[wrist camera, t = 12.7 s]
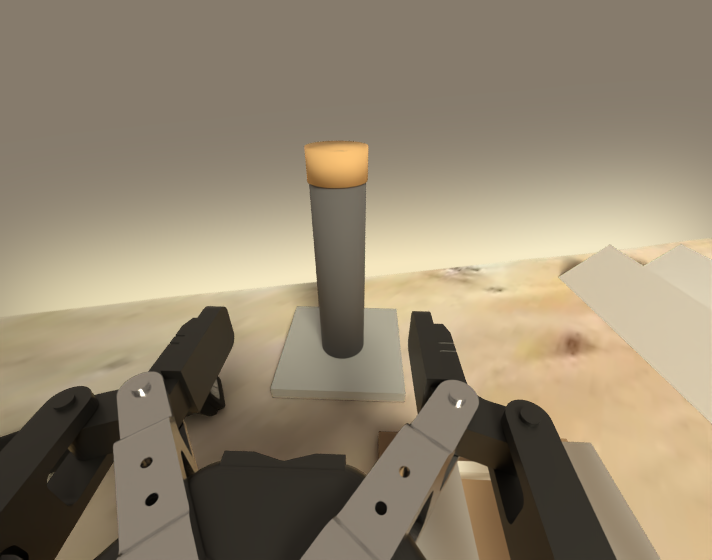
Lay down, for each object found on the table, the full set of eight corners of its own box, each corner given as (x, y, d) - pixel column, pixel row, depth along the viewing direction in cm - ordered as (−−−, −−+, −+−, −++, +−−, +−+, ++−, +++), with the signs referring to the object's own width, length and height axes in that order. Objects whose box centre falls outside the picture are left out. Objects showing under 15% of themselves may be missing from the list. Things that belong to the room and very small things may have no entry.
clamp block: (383, 679, 13) (388, 663, 10) (378, 439, 21) (381, 402, 19) (690, 700, 12) (762, 686, 10) (560, 447, 21) (584, 410, 18)
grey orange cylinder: (318, 358, 26) (298, 151, 17) (324, 328, 29) (310, 140, 20) (364, 360, 26) (367, 151, 17) (365, 329, 29) (368, 140, 20)
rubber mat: (272, 397, 24) (270, 388, 23) (298, 314, 32) (297, 306, 32) (404, 402, 24) (405, 393, 23) (395, 316, 32) (396, 308, 31)
